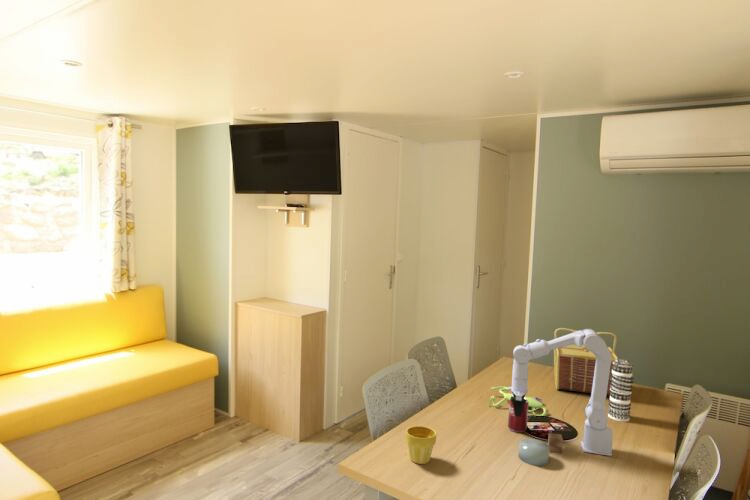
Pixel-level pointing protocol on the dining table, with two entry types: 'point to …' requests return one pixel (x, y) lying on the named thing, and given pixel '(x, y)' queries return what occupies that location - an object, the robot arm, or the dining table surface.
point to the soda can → (518, 418)
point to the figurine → (532, 401)
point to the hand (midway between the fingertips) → (517, 412)
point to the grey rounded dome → (534, 452)
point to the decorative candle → (620, 390)
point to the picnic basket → (578, 366)
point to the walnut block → (555, 442)
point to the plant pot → (420, 443)
